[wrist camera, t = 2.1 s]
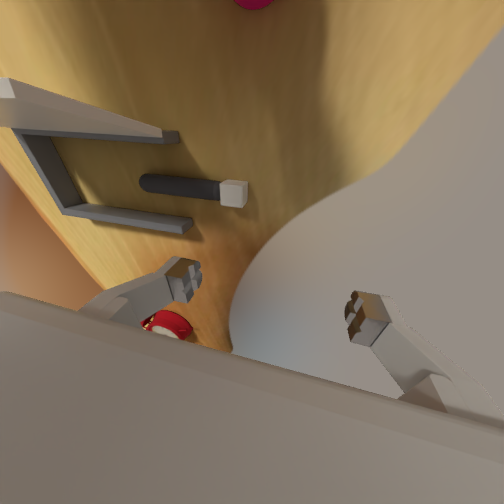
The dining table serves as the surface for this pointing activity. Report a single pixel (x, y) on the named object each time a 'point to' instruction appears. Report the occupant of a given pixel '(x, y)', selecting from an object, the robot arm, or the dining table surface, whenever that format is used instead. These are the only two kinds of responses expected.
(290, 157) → the dining table surface
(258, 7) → the pepper mill
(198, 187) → the white-capped dark rod
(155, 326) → the alarm clock
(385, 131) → the dining table surface
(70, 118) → the cover
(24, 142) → the grey flat frame
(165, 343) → the robot arm
